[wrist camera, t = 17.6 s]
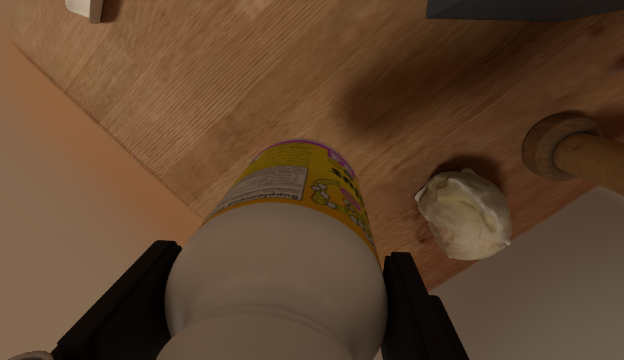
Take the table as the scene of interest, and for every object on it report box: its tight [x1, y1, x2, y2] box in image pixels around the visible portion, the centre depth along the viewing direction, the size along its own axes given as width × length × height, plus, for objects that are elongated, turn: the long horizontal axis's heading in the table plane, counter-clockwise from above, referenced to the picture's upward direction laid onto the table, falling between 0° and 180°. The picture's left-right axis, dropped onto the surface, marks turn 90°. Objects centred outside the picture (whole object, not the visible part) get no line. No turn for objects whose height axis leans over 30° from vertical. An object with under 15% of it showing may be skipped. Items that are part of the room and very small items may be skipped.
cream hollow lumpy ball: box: [415, 168, 512, 260], centre depth 30 cm, size 9×8×10 cm
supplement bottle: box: [156, 138, 388, 360], centre depth 12 cm, size 7×7×13 cm
